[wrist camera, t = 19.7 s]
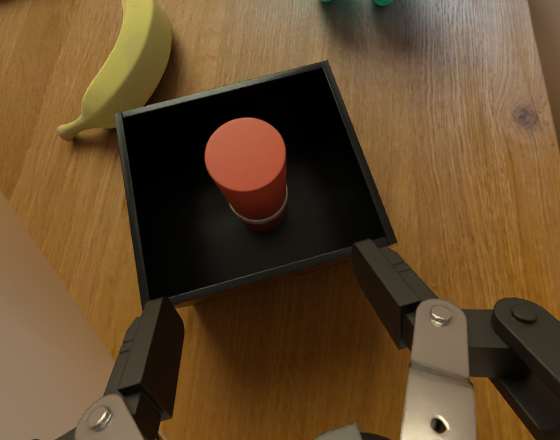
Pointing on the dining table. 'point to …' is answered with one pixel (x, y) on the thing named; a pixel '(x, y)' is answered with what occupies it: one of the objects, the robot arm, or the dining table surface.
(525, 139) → the dining table surface
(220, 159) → the striped red cylinder
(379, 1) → the green wheel pair
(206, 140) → the bin
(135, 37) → the banana
